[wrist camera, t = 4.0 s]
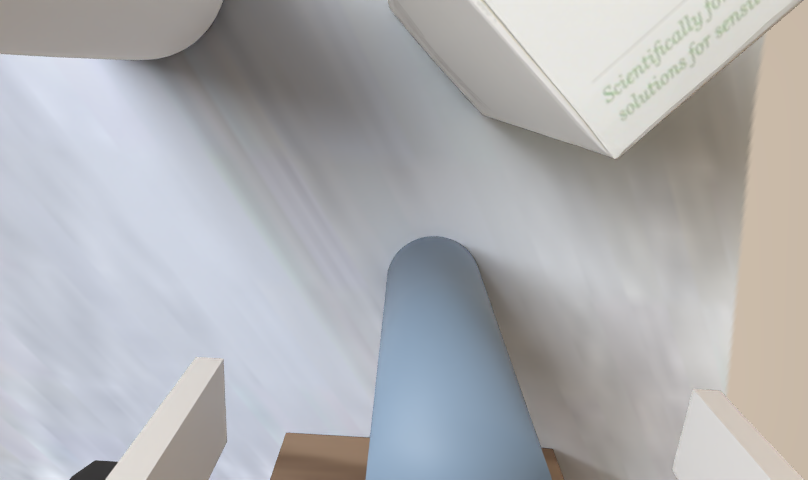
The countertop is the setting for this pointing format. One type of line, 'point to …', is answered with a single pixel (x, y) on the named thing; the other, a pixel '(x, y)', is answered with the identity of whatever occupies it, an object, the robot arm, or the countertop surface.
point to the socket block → (341, 458)
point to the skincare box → (585, 58)
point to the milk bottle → (103, 27)
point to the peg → (446, 377)
